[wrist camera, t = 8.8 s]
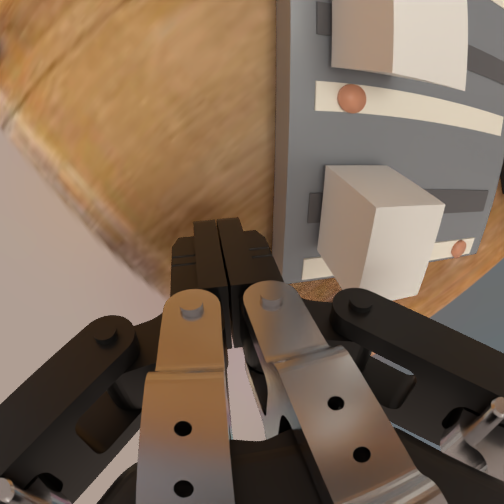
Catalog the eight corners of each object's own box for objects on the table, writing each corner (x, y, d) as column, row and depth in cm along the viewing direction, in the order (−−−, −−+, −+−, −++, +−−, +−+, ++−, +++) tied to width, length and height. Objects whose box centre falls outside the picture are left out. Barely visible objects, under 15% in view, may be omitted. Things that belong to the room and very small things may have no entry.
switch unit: (479, -75, 6) (503, -78, 4) (459, 238, 19) (478, 256, 17) (271, -155, 4) (284, -175, 2) (271, 261, 17) (283, 288, 15)
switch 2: (387, 165, 13) (445, 204, 9) (372, 243, 15) (416, 294, 12) (325, 165, 12) (376, 207, 9) (317, 250, 14) (354, 308, 11)
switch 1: (397, -9, 8) (465, -19, 5) (396, 76, 11) (465, 91, 7) (331, -26, 8) (390, -53, 5) (331, 67, 10) (392, 73, 7)
